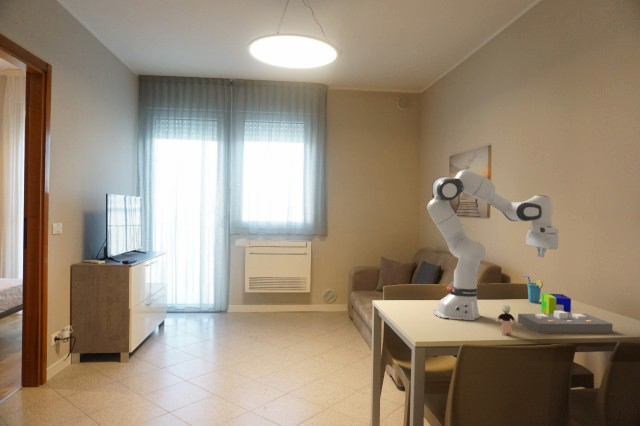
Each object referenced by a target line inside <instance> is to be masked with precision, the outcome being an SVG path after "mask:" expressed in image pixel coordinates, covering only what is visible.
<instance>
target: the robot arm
mask: <svg viewBox="0 0 640 426" xmlns="http://www.w3.org/2000/svg"><path fill="white" fill-rule="evenodd" d="M431 193H432V195H431V196H432V199H431V200H429V202H428V203H427V205H426V209H427V211H428V214H429V216H430V218H431V220H432V221H433V223H434V224H435V226H436V227H437V229H438V230H439V232H440V233H441V235H442V236H443V238H444V240H445V242H446V245H447V247H448V250H449V252H450V254H452V255H453V256H454V257H455V258H457V259H458V260H457V264H456V268H455V269H454V270H453V285H452V287H451V286H446V290H447V291H449V293H448V294H447V295H445V297H443V298H441V299H440V300H439V301H438V304H437V308H436V309H434V308H433V310H432V314H433V315H435V316H436V315H437V316H436V317H438V318H440V317H441V318H440V319H444V318H449V320H462V319H463V320H466V321H475V320H476V319H478V318H480V317H481V315H480V312H479V308H478V295H479V294H478V293H479V292H478V290H479V289H478V273H479V272H478V271H479V268H480V264H481V261H482V260H483V258H484V257H485V255H486V248H485V246H484V245H483V244H482V243H481V242H480V241H478V240H477V239H473V238H470V237H469V236H468V235H467V234H466V232H465V228H464V224H463V222H462V221H461V219H460V218H459V217H458V215H457V213H456V212H455V211H454V209H453V208H452V206H451V204H450V201H452V200H455V199H456V198H457V197H458V196H459V195H460V194H462V193H464V194H466V195H468V196H470V197H472V198H474V199H476V200H478V201H481V202H484V203H487V204H489V205H490V206H492V207H494V208H495V209H497V210H499V212H501V213H502V214H503V215H504V216H505V218H506V219H507V220H509V221H511V222H530V221H531V223H530V225H531V226H530V227H529V229H528V231H527V233H526V238H525V239H526V240H525V243H526V245H527V246H530V247H535V251H536V253H537V254H536V255H537V257H539V258H544V257H545V253H546V252H547V250H557V249H558V248H559V235H558V234H559V233H560V229H559V228H558V227H556V226H554V225H553V220H552V216H553V201H552V198H550V197H549V196H547V195H540V194H535V195H534V196H533V197H531V198H529V199H526V200H524V201H511V200H508V199H506V198H505V197H503V196H501V195H500V194H498V193H497V192H496V185H495V184H494V183H493V182H492V181H491V180H489V179H488V178H487V177H485V176H482V175H481V174H479V173H477V172H474V171H472V170H468V169H461V170H460V171H458V172H457V174H456V175H455V176H454V177H452V178H451V177H449V176H448V177H447V176H440V177H438V178H435V180H434V181H433V182H432V185H431Z"/></svg>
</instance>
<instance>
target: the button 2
mask: <svg viewBox="0 0 640 426" xmlns="http://www.w3.org/2000/svg"><path fill="white" fill-rule="evenodd" d="M571 314H572V317H575V318H577V319H586V316H584V315H582V314H583V313H571Z"/></svg>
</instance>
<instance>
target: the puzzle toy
mask: <svg viewBox="0 0 640 426" xmlns="http://www.w3.org/2000/svg"><path fill="white" fill-rule="evenodd" d="M554 311H564V312H567V313H568V314H572V312H571V311H572V298H570V297H568V296H567V295H566V294H562V293H544V292H543V293H541V314H554Z"/></svg>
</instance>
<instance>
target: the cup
mask: <svg viewBox="0 0 640 426" xmlns="http://www.w3.org/2000/svg"><path fill="white" fill-rule="evenodd" d="M522 278H527V280H528V282H527V283H526V286H527V294H528V297H527V298H528V302H529V303H530V302H531V304H539V303H540V298H541V289H542V288H543V286H544V284H543V280H541V279H540V278H539V279H538V278H537V279H536V281H535V282H531V280H530V279H531V278H530V276H529V275H527V274H526V275H525V274H524V275H522Z"/></svg>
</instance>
